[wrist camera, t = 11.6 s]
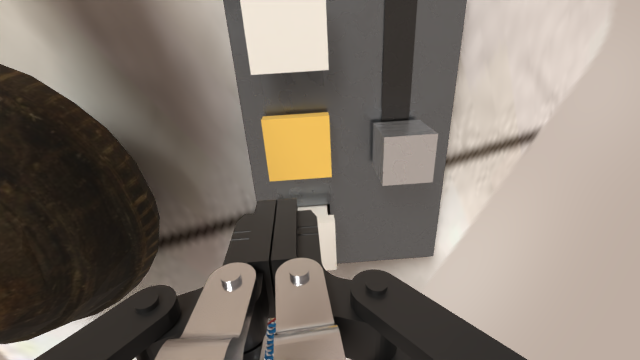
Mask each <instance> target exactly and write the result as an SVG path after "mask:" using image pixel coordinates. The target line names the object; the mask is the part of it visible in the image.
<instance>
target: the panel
mask: <svg viewBox="0 0 640 360" xmlns="http://www.w3.org/2000/svg"><path fill="white" fill-rule="evenodd" d="M223 2H224V8H225V14H226V20H227V26H228V32H229V38H230V44H231V50H232V56H233V62H234V68H235V74H236V80H237V86H238V92H239V98H240V104H241V110H242V116H243V122H244V128H245V134H246V140H247V146H248V152H249V158H250V164H251V170H252V176H253V182H254V188H255V194H256V200H257V201H263V200H277V202H278V199H292V198H297V206H309V205H323V204H328V215H334V219H335V235H336V259H337V263H350V262H363V261H376V260H389V259H403V258H416V257H429V256H433V254H434V246H435V238H436V231H437V223H438V215H439V208H440V200H441V193H442V185H443V177H444V170H445V162H446V154H447V147H448V139H449V132H450V124H451V116H452V109H453V101H454V93H455V86H456V78H457V71H458V63H459V55H460V48H461V40H462V32H463V25H464V17H465V10H466V2H467V0H326V16H327V40H328V65H329V70H320V71H305V72H289V73H274V74H258V75H251V72H250V65H249V58H248V51H247V44H246V38H245V31H244V24H243V17H242V10H241V3H240V0H223ZM321 112H328V113H329V122H330V145H331V169H332V177H326V178H312V179H298V180H284V181H269V173H268V166H267V159H266V152H265V145H264V138H263V131H262V124H261V119H262V117H263V116H276V115H291V114H306V113H321ZM408 120H421V121H422V122H424V123H425V124H426V125H428V126H429V127H430V128H431V129H433V130H434V131H435V132H437V133H438V140H437V149H436V158H435V166H434V175H433V182H430V183H416V184H402V185H388V186H382V184H381V182H380V180H379V178H378V176H377V174H376V172H375V170H374V168H373V166H372V159H373V123H378V122H393V121H408Z"/></svg>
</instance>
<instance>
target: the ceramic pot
mask: <svg viewBox="0 0 640 360" xmlns="http://www.w3.org/2000/svg"><path fill="white" fill-rule="evenodd" d="M159 219H160V217H159V213H158V209H157V205H156V201H155V198H154V196H153V194H152V192H151V190H150V189H149V187H148V185H147V183H146V181H145V179H144V177H143V176H142V174H141V172H140V170H139V168H138V166H137V164H136V162H135V161H134V160H133V159H132V157H131V156H130V155H129V154H128V153H127V152H126V150H125V149H124V148H123V147H122V146H121V145H120V143H119V142H118V141H117V140H116V139H115V137H114V136H113V135H112V134H111V133H110V132H109V130H108V129H107V128H105V127H104V126H103V125H102V124H100V123H99V122H98V121H97V120H95V119H94V118H93V117H92V116H90V115H89V114H88V113H86V112H85V111H84V110H83V109H81V108H80V107H79V106H78V105H76V104H75V103H74V102H72V101H70V100H69V99H67V98H66V97H64V96H62V95H61V94H59V93H58V92H56V91H55V90H53V89H51V88H50V87H48V86H47V85H45V84H43V83H42V82H40V81H39V80H37V79H35V78H34V77H32V76H30V75H27V74H25V73H22V72H20V71H17V70H14V69H12V68H9V67H6V66H4V65H1V64H0V344H8V343H14V342H20V341H25V340H29V339H32V338H34V337H37V336H39V335H41V334H44V333H46V332H49V331H51V330H54V329H56V328H58V327H61V326H63V325H66V324H68V323H70V322H72V321H76V320H79V319H82V318H85V317H89V316H92V315H95V314H97V313H99V312H101V311H103V310H104V309H106V308H108V307H110V306H111V305H113V304H115V303H116V302H118V301H120V300H121V299H122V298H123V297H124V296H126V295H127V294H128V293H129V292H130V291H131V290H132V289H134V288H135V287H136V286H137V285H138V284H139V283H140V282H141V280H142V279H143V278H144V276H145V275H146V274H147V272H148V271H149V269H150V267H151V264H152V262H153V260H154V258H155V256H156V254H157V251H158V243H159Z"/></svg>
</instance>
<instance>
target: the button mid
mask: <svg viewBox="0 0 640 360" xmlns="http://www.w3.org/2000/svg"><path fill="white" fill-rule="evenodd" d="M261 124H262V131H263V138H264V145H265V152H266V159H267V166H268V173H269V181H284V180H298V179H312V178H326V177H332V169H331V145H330V122H329V113H328V112H321V113H306V114H291V115H276V116H263V117H262V119H261Z"/></svg>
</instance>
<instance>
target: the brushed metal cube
mask: <svg viewBox="0 0 640 360" xmlns="http://www.w3.org/2000/svg"><path fill="white" fill-rule="evenodd" d="M437 140H438V133H437V132H435V131H434V130H433V129H431V128H430V127H429V126H428V125H426V124H425V123H424V122H422V121H421V120H408V121H393V122H378V123H373V159H372V166H373V168H374V170H375V172H376V174H377V176H378V178H379V180H380V182H381V184H382V186H388V185H402V184H416V183H430V182H433V175H434V166H435V158H436V149H437Z"/></svg>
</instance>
